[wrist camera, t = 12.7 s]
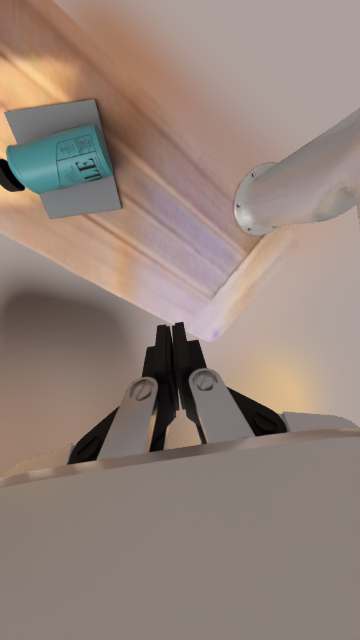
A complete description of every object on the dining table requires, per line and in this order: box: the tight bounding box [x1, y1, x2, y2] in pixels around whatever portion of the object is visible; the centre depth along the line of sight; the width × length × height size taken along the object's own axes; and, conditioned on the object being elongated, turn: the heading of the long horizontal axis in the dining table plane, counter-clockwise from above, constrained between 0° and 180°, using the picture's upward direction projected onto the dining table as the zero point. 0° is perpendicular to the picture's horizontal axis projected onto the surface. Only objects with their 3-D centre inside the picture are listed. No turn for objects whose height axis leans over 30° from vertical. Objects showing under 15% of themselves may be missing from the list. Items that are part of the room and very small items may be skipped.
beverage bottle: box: [0, 123, 113, 194], centre depth 28 cm, size 6×7×20 cm
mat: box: [4, 99, 122, 219], centre depth 30 cm, size 15×15×1 cm
